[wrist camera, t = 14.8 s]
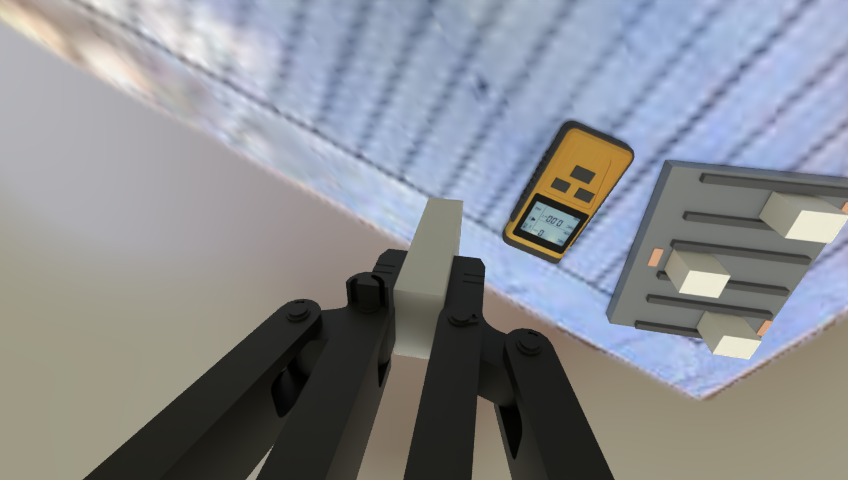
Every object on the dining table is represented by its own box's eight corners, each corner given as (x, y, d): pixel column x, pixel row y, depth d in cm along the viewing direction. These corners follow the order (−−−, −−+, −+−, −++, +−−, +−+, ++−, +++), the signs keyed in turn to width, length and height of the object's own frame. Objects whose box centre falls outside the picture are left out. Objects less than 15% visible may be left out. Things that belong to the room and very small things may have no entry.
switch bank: (665, 159, 42) (675, 168, 39) (851, 178, 40) (873, 189, 37) (606, 313, 53) (611, 327, 51) (747, 333, 51) (759, 349, 49)
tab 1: (673, 248, 44) (689, 270, 41) (710, 252, 44) (730, 275, 40) (664, 269, 46) (678, 292, 42) (699, 274, 46) (717, 298, 42)
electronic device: (633, 145, 42) (643, 154, 39) (557, 253, 50) (561, 268, 47) (564, 115, 42) (569, 122, 39) (499, 229, 50) (499, 242, 47)
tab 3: (772, 191, 40) (802, 210, 36) (816, 195, 39) (850, 215, 35) (758, 216, 41) (784, 237, 37) (799, 221, 41) (830, 243, 37)
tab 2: (706, 309, 48) (723, 335, 44) (740, 314, 47) (762, 341, 44) (695, 327, 49) (712, 353, 46) (729, 332, 49) (749, 359, 45)
